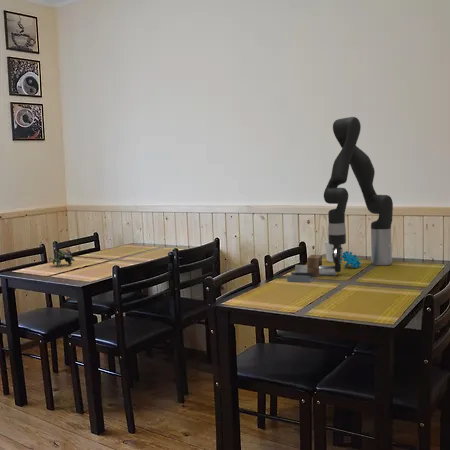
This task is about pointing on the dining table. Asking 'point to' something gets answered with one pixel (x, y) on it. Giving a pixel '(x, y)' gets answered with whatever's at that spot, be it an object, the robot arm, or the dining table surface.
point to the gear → (351, 259)
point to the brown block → (314, 264)
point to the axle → (322, 270)
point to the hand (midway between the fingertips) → (338, 271)
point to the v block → (300, 277)
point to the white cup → (329, 251)
